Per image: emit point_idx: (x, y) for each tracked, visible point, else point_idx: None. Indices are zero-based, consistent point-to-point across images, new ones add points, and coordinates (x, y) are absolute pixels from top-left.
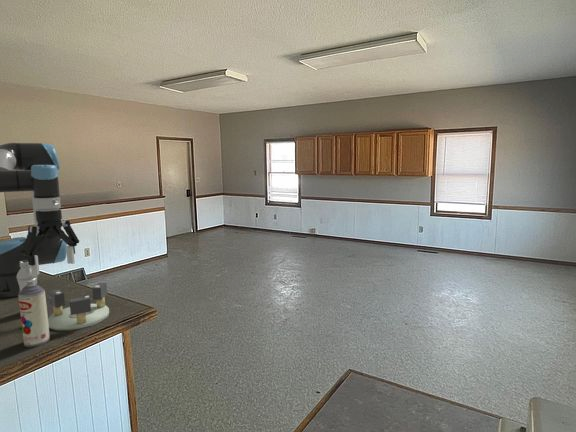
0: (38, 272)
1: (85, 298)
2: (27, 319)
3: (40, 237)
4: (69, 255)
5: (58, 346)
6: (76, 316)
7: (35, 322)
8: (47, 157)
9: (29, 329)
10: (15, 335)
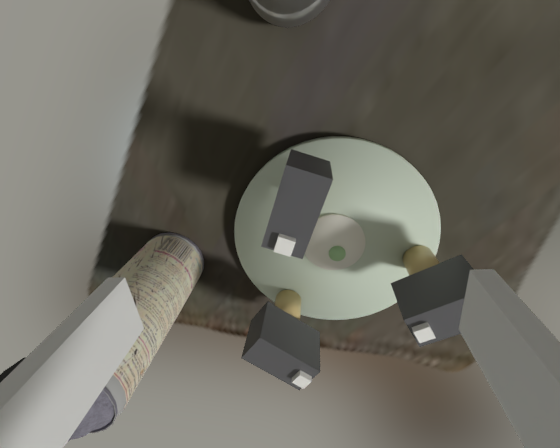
0: (129, 339)
1: (292, 379)
2: None
3: None
4: (511, 377)
5: (192, 321)
6: (308, 259)
7: None
8: None
9: None
10: (154, 164)
